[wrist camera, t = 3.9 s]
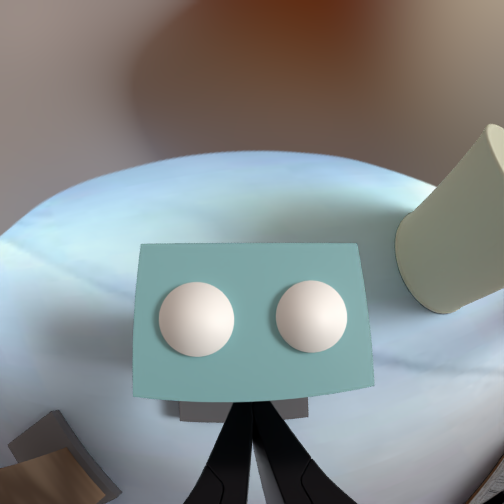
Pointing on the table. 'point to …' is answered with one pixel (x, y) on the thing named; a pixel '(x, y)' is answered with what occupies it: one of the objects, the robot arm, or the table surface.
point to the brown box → (48, 481)
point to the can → (458, 232)
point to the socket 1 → (55, 438)
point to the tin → (489, 485)
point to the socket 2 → (221, 409)
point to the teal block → (250, 322)
